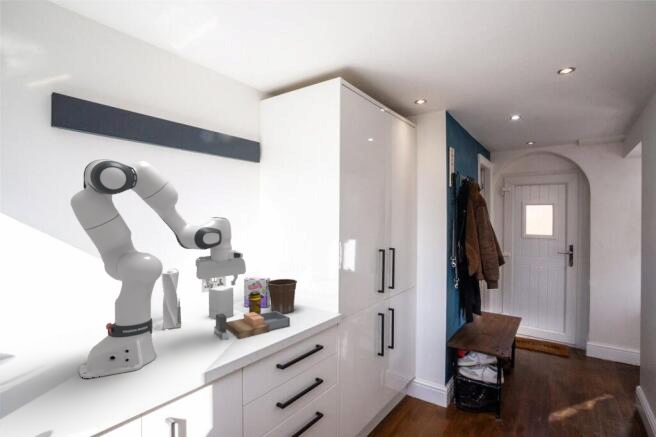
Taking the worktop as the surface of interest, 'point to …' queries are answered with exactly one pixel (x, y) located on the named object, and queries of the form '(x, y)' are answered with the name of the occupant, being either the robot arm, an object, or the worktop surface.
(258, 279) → the candy box
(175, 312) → the skyscraper
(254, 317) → the tile
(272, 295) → the plant pot
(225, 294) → the supplement box
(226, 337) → the scraper
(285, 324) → the tray
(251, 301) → the condiment
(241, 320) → the board
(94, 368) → the robot arm
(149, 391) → the worktop surface
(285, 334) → the worktop surface
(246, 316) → the tile
